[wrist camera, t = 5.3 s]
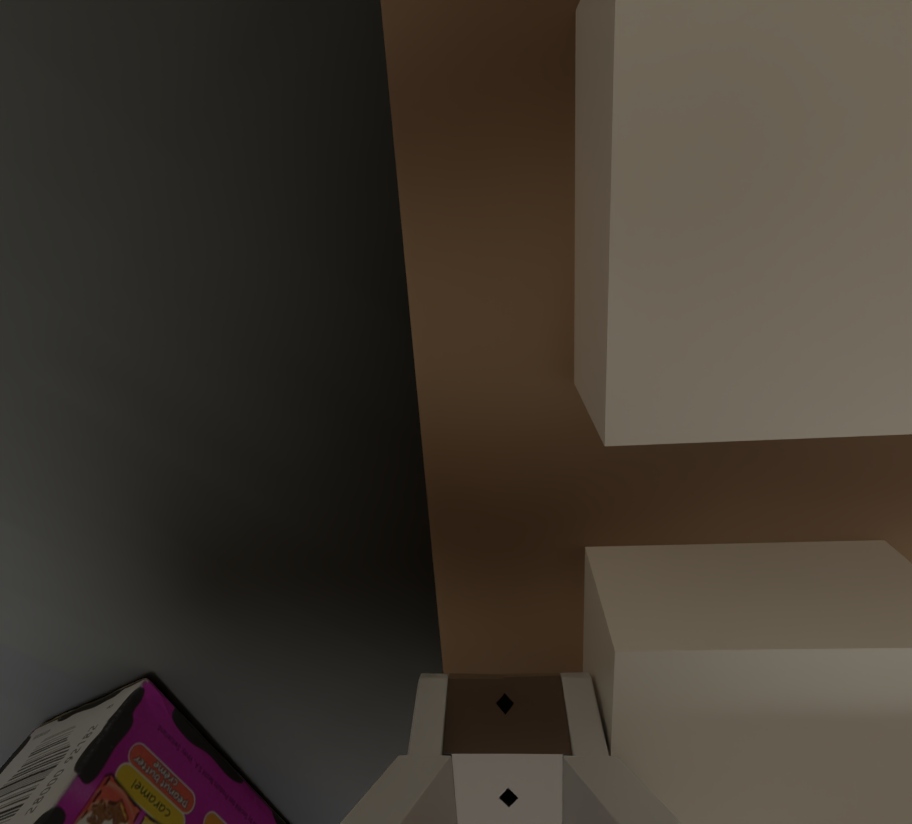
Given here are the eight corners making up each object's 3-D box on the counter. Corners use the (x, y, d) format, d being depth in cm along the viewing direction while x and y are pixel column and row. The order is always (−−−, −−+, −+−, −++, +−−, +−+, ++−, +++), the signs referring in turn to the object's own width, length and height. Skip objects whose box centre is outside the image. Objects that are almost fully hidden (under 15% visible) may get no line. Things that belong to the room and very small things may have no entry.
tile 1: (584, 546, 10) (614, 651, 8) (884, 540, 10) (1011, 647, 7) (581, 757, 12) (605, 895, 9) (836, 758, 11) (927, 902, 9)
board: (406, -68, 10) (359, -222, 7) (1117, -144, 10) (1523, -369, 6) (465, 694, 16) (458, 838, 13) (903, 690, 16) (1034, 844, 12)
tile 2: (575, 10, 7) (616, -81, 5) (990, -30, 7) (1245, -148, 5) (574, 383, 9) (604, 446, 7) (908, 367, 9) (1063, 428, 6)
